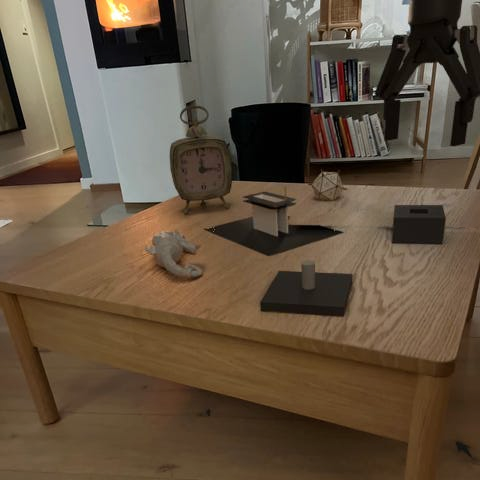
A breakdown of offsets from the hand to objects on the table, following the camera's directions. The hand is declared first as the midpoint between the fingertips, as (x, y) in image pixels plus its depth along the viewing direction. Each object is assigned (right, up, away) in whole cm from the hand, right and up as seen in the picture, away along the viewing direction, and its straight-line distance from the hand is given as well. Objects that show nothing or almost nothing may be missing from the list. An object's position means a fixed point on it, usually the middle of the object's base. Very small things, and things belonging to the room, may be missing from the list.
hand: (422, 142), depth 81 cm
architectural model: (-25, -11, +23) cm, 35 cm away
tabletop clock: (-40, -2, +43) cm, 59 cm away
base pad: (-21, -27, -8) cm, 35 cm away
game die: (-9, -1, +40) cm, 41 cm away
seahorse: (-43, -20, +9) cm, 48 cm away
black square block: (+3, -14, +12) cm, 19 cm away
